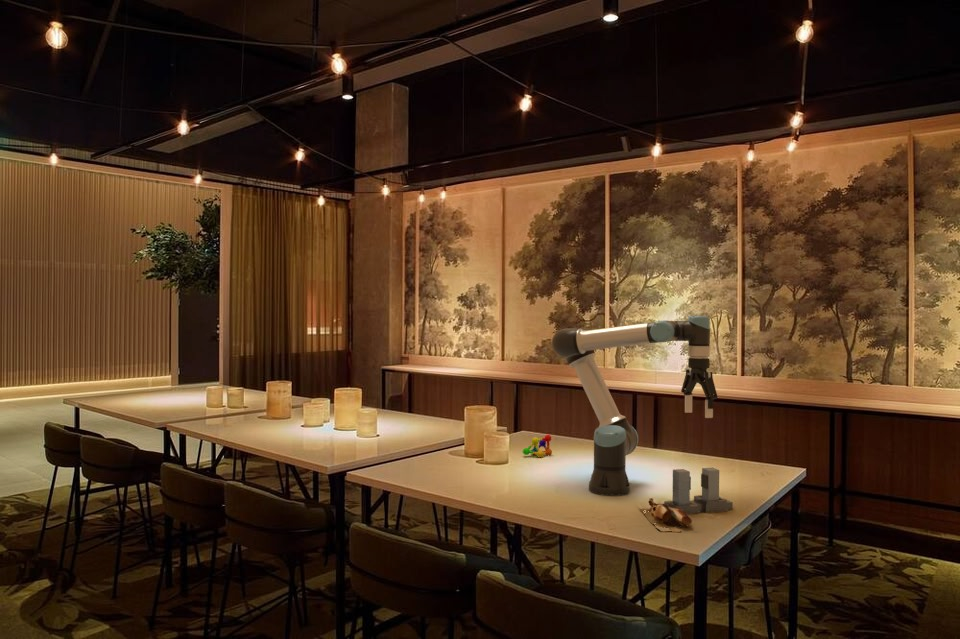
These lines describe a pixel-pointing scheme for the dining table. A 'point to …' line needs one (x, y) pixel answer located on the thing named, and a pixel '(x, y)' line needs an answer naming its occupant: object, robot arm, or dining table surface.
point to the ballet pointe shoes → (666, 516)
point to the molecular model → (542, 443)
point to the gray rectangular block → (710, 484)
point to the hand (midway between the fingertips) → (698, 415)
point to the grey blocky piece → (697, 504)
